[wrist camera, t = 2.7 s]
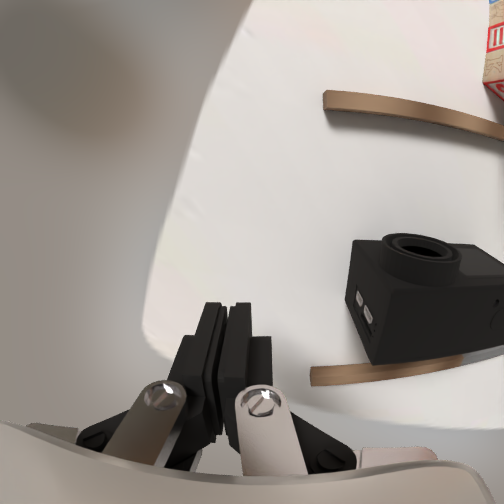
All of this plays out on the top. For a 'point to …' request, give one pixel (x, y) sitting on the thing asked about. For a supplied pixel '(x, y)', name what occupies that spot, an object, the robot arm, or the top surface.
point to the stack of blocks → (495, 49)
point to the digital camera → (424, 298)
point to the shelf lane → (413, 112)
